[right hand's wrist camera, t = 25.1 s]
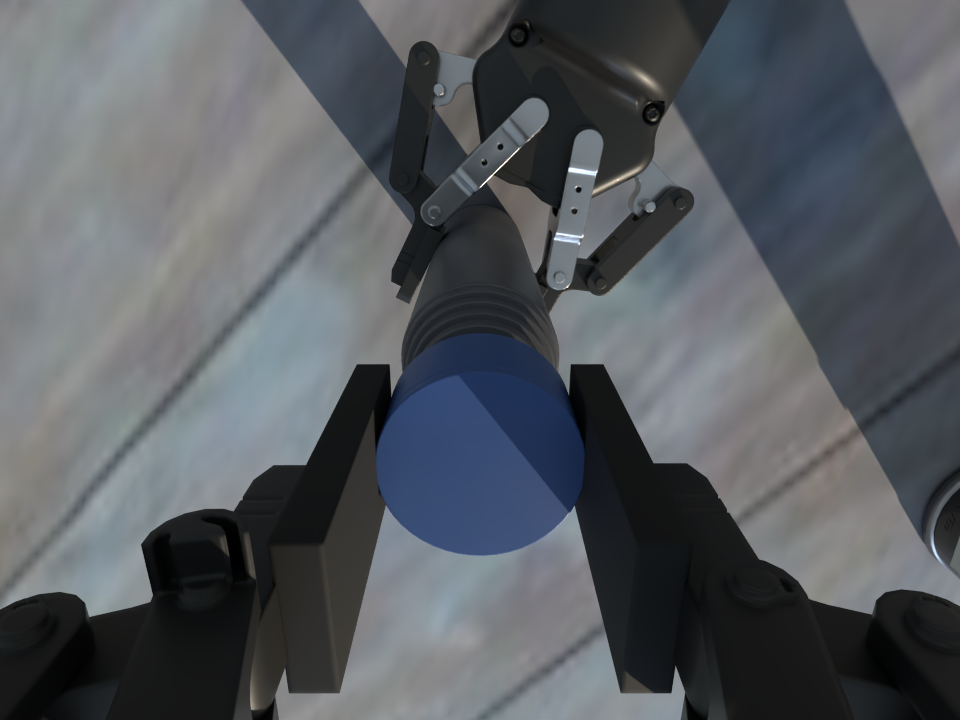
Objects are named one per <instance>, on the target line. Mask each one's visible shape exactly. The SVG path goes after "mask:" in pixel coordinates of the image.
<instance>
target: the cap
mask: <svg viewBox="0 0 960 720" xmlns="http://www.w3.org/2000/svg"><path fill="white" fill-rule="evenodd" d="M584 457H585V447H584V442H583V438H582V435H581V432H580V429H579V426H578V423H577V420H576V417H575V413H574V410H573V407H572V404H571V401H570V398H569V395H568V392H567V389H566V387H565V384H564V382H563V380H562V378H561V376H560V375H559V373H558V372H557V371H556V369H555V368H554V366H553V365H552V364H551V363H550V362H549V361H548V360H547V359H546V358H545V357H544V356H543V355H541V354H540V353H539V352H538V351H536V350H535V349H533V348H532V347H530V346H528V345H527V344H525V343H522V342H520V341H518V340H515V339H513V338H509V337H506V336H502V335H496V334H489V333H474V334H464V335H460V336H455V337H451V338H449V339H446V340H443V341H440V342H438V343H437V344H435V345H433V346H431V347H429V348H428V349H426V350H425V351H423V352H422V353H420V354H419V355H418V356H417V357H416V358H415V359H414V360H413V361H412V362H411V363H410V364H409V365H408V366H407V368H406V369H405V370H404V372H403V373H402V375H401V376H400V378H399V380H398V382H397V384H396V386H395V389H394V391H393V394H392V398H391V401H390V404H389V407H388V410H387V413H386V416H385V419H384V422H383V426H382V429H381V432H380V435H379V438H378V442H377V446H376V466H377V480H378V487H379V490H380V493H381V496H382V498H383V500H384V502H385V504H386V506H387V507H388V509H389V510H390V512H391V513H392V514H393V516H394V517H395V518H396V519H397V520H398V521H399V522H400V524H401V525H402V526H403V527H405V528H406V529H407V530H408V531H409V532H411V533H412V534H413V535H415V536H416V537H418V538H419V539H421V540H422V541H424V542H426V543H428V544H430V545H432V546H435V547H437V548H440V549H443V550H446V551H450V552H454V553H458V554H465V555H479V556H486V555H497V554H502V553H508V552H512V551H515V550H518V549H521V548H524V547H526V546H528V545H531V544H533V543H535V542H537V541H538V540H540V539H542V538H543V537H545V536H546V535H548V534H549V533H550V532H552V531H553V530H554V529H555V528H556V527H557V526H558V525H559V524H560V523H562V522H563V521H564V519H565V518H566V517H567V515H568V514H569V513H570V512H571V510H572V509H573V507H574V505H575V503H576V502H577V500H578V498H579V495H580V493H581V490H582V485H583V472H584Z"/></svg>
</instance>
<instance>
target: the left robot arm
mask: <svg viewBox="0 0 960 720" xmlns="http://www.w3.org/2000/svg"><path fill="white" fill-rule="evenodd" d="M730 1H731V0H519V1H518V4H517V6H516V8H515V10H514V12H513V14H512V16H511V18H510V20H509V23H508V25H507V27H506V29H505V31H504V33H503V35H502V36H501V38H500V39H499V40H498V41H497V43H496V44H495V45H493V46H492V47H491V48H490V49H488V50H487V51H485V52H484V53H483V54H482V55H481V56H480V57H479V58H478V60H475V59H471V58H467V57H463V56H459V55H455V54H451V53H447V52H443V51H439V50H437V49H436V48H435V46H434V45H433V44H431V43H429V42H426V41H420V42H418V43H416V44H414V45H413V47H412V48H411V50H410V52H409V58H408V64H407V70H406V76H405V82H404V88H403V95H402V101H401V107H400V113H399V119H398V125H397V132H396V138H395V144H394V150H393V156H392V162H391V169H390V175H389V181H390V184H391V186H392V188H393V189H394V190H396V191H397V192H399V193H401V194H402V196H403V197H404V198H405V199H406V200H407V201H408V202H409V203H410V204H411V205H412V207H413V209H414V212H415V221H414V224H413V226H412V228H411V231H410V233H409V235H408V237H407V239H406V241H405V243H404V245H403V247H402V250H401V252H400V254H399V256H398V258H397V260H396V262H395V264H394V267H393V269H392V278H391V282H393V283H395V284H398V285H400V286H401V288H400V290H399V292H398V294H397V296H396V298H398V299H400V300H402V301H404V302H406V303H408V304H409V303H410V302H411V300H412V298H413V296H414V294H415V292H416V290H417V287H418V285H419V283H420V281H421V279H422V277H423V275H424V273H425V271H426V269H427V267H428V265H429V263H430V261H431V259H432V257H433V254H434V252H435V251H436V249H437V247H438V245H439V243H440V241H441V239H442V237H443V235H444V232H445V229H446V226H444V223H445V221H446V220H447V219H448V218H449V217H450V216H451V215H452V214H453V213H454V212H455V211H456V210H457V209H458V208H459V207H460V206H461V205H462V204H463V203H464V202H465V201H466V200H467V199H468V198H469V197H470V196H471V195H473V194H474V193H475V192H476V191H477V190H479V189H480V188H481V187H482V186H483V185H484V184H485V183H486V182H487V181H488V180H489V179H490V178H491V177H492V176H493V175H495V176H497V177H499V178H501V179H502V180H504V181H506V182H508V183H510V184H515V185H519V186H523V187H527V188H529V189H530V190H531V191H532V192H533V193H534V194H535V195H536V196H537V197H538V198H539V199H540V200H541V201H543V202H545V203H547V204H549V205H551V207H550V213H549V219H548V231H547V237H546V242H545V248H544V253H543V259H542V264H541V266H540V268H539V269H538V271H537V273H534V274H535V277H536V280H537V283H538V286H539V288H540V291H541V294H542V297H543V300H544V302H545V305H546V308H547V311H548V314H549V313H550V311H551V309H552V308H553V306H554V304H555V302H556V301H557V299H558V297H559V296H560V295H561V294H562V293H564V292H565V291H568V290H582V291H590V292H591V293H592V294H594V295H597V296H602V295H605V294H607V293H609V292H610V291H611V290H612V289H613V288H614V287H615V286H616V285H617V284H618V283H619V282H620V281H621V280H622V279H623V278H624V277H625V276H626V275H627V274H628V273H629V272H630V271H631V270H632V269H633V268H634V267H635V266H636V265H637V264H638V263H639V262H640V261H641V260H642V259H643V258H644V257H645V256H646V255H647V254H648V253H649V252H650V251H651V250H652V249H653V248H654V247H655V246H656V245H657V244H658V243H659V242H660V241H661V240H662V239H663V238H664V237H665V236H666V235H667V234H668V233H669V232H670V231H671V230H672V229H673V228H674V227H675V226H676V225H677V224H678V223H679V222H680V221H681V220H682V219H683V218H684V217H685V216H686V215H687V214H688V213H689V212H690V211H691V210H692V208H693V205H694V197H693V195H692V193H691V192H690V191H688V190H686V189H684V188H682V187H680V186H677V185H676V184H675V183H674V182H673V181H672V180H671V179H670V178H669V177H668V176H667V175H666V174H665V173H664V172H663V171H662V170H661V169H660V168H659V167H658V166H657V165H656V164H655V163H654V162H653V161H652V158H653V155H654V144H655V136H656V132H657V129H658V126H659V124H660V122H661V120H662V118H663V116H664V115H665V113H666V111H667V110H668V108H669V106H670V105H671V103H672V101H673V99H674V98H675V96H676V94H677V92H678V91H679V89H680V87H681V86H682V84H683V82H684V80H685V79H686V77H687V75H688V73H689V72H690V70H691V68H692V67H693V65H694V63H695V61H696V60H697V58H698V56H699V54H700V53H701V51H702V49H703V48H704V46H705V44H706V42H707V41H708V39H709V37H710V35H711V34H712V32H713V30H714V28H715V27H716V25H717V23H718V22H719V20H720V18H721V16H722V15H723V13H724V11H725V9H726V8H727V6H728V4H729V3H730ZM465 84H472V85H473V92H474V99H475V106H476V113H477V120H478V127H479V134H480V141H481V143H480V144H479V145H478V146H477V147H476V148H475V149H474V150H473V151H472V152H471V153H470V154H469V155H468V156H467V157H466V158H465V159H464V160H463V161H462V162H461V163H460V164H459V165H458V167H457V168H456V169H455V170H454V171H453V172H452V173H451V174H450V175H449V176H448V177H447V178H446V179H445V180H444V181H443V182H442V183H441V184H440V185H439V186H438V187H436V185H435V184H434V183H433V182H432V181H431V180H430V179H429V178H428V177H427V176H426V174H425V173H424V172H423V169H424V164H425V158H426V153H427V147H428V142H429V136H430V131H431V125H432V120H433V114H434V108H435V105H436V106H446V105H448V104H449V103H451V101H452V100H453V98H454V96H455V93H456V91H457V90H458V88H459V87H461V86H462V85H465ZM483 160H485V161H483ZM633 177H634V178H635V181H636V187H635V190H634V192H633V194H632V195H631V196H630V198H629V202H628V205H629V209H630V211H631V212H632V213H631V214H630V215H629V216H628V217H627V218H626V219H625V220H624V221H623V222H622V223H621V224H620V225H619V226H618V227H617V228H616V229H615V230H614V231H613V232H612V233H611V235H610V236H609V237H608V238H607V239H606V240H605V241H604V242H603V243H602V244H601V245H600V246H599V247H598V248H597V249H596V250H595V251H594V252H593V253H592V254H591V255H590V256H589V257H588V258H587V259H581V258H577V255H578V250H579V246H580V242H581V240H582V239H583V236H584V232H585V227H586V222H587V217H588V212H589V207H590V202H591V198H593V197H595V196H597V195H599V194H601V193H603V192H605V191H607V190H609V189H611V188H613V187H615V186H617V185H619V184H621V183H623V182H625V181H627V180H629V179H631V178H633ZM923 538H924V541H925V544H926V546H927V548H928V550H929V552H930V553H931V554H932V555H933V557H935V558H936V559H937V560H938V561H939V562H940V563H941V564H942V565H943V566H944V567H945V568H946V569H947V570H949V571H950V572H952V573H954V574H955V575H956V576H957V577H958V578H959V579H960V471H958V472H957V473H956V474H954V475H953V476H952V477H951V478H949V479H948V480H947V481H946V482H945V483H944V484H943V485H942V486H941V487H940V489H939V490H938V491H937V492H936V494H935V495H934V496H933V498H932V500H931V501H930V503H929V505H928V507H927V510H926V512H925V516H924V520H923Z"/></svg>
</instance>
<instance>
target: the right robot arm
mask: <svg viewBox="0 0 960 720" xmlns="http://www.w3.org/2000/svg"><path fill="white" fill-rule="evenodd" d="M569 398H570V401H571V404H572V407H573V410H574V413H575V417H576V420H577V423H578V426H579V429H580V432H581V435H582V438H583V442H584V447H585V457H584V472H583V485H582V490H581V493H580V495H579V498H578V500H577V502H576V503H575V509H576V513H577V517H578V521H579V525H580V529H581V533H582V537H583V541H584V545H585V549H586V553H587V557H588V561H589V566H590V570H591V574H592V578H593V582H594V586H595V590H596V594H597V598H598V602H599V606H600V610H601V614H602V618H603V623H604V627H605V631H606V635H607V639H608V643H609V647H610V651H611V655H612V659H613V663H614V667H615V671H616V675H617V679H618V684H619V688H620V692H621V693H671V692H672V685H673V679H674V672H675V665H676V667H677V670H678V673H679V676H680V679H681V681H682V684H683V687H684V690H685V698H684V704H683V710H682V716H681V720H960V606H958V605H956V604H954V603H952V602H950V601H948V600H946V599H944V598H941V597H938V596H934V595H931V594H928V593H925V592H920V591H911V590H902V589H901V590H896V591H890V592H885V593H884V594H883V595H882V596H881V597H880V598H878V599H877V600H876V603H875V607H874V610H873V613H872V615H871V614H866V613H862V612H857V611H853V610H848V609H844V608H840V607H835V606H831V605H827V604H823V603H820V602H816V601H813V600H810V599H808V596H807V594H806V593H805V591H804V590H803V588H802V587H801V585H800V584H799V582H798V581H797V580H796V579H794V578H793V577H792V576H791V575H789V574H788V573H787V572H786V571H784V570H783V569H781V568H779V567H777V566H774V565H772V564H770V563H768V562H766V561H763V560H759V559H758V557H757V556H756V554H755V553H754V551H753V549H752V548H751V546H750V545H749V543H748V542H747V540H746V538H745V537H744V535H743V534H742V532H741V531H740V529H739V527H738V526H737V524H736V523H735V521H734V520H733V518H732V516H731V515H730V513H727V509H726V507H725V505H724V504H723V502H722V501H721V499H720V498H718V494H717V493H716V491H715V490H714V488H713V487H712V485H711V483H710V482H709V480H708V479H707V478H706V477H705V476H704V475H702V474H701V473H699V472H698V471H697V470H695V469H694V468H693V467H691V466H690V465H688V464H687V463H653V461H652V460H651V458H650V456H649V454H648V452H647V450H646V448H645V446H644V444H643V442H642V440H641V438H640V436H639V434H638V432H637V430H636V428H635V426H634V424H633V422H632V420H631V418H630V416H629V414H628V412H627V410H626V408H625V406H624V404H623V402H622V400H621V398H620V396H619V394H618V392H617V390H616V388H615V386H614V384H613V383H612V381H611V379H610V377H609V375H608V373H607V371H606V369H605V367H604V365H603V364H571V371H570V389H569ZM390 401H391V382H390V364H357V366H356V367H355V369H354V371H353V373H352V375H351V377H350V379H349V381H348V383H347V385H346V387H345V389H344V391H343V393H342V395H341V397H340V399H339V401H338V403H337V405H336V407H335V409H334V411H333V413H332V415H331V417H330V419H329V421H328V423H327V425H326V427H325V429H324V431H323V433H322V435H321V437H320V439H319V441H318V443H317V445H316V446H315V448H314V450H313V452H312V454H311V456H310V458H309V460H308V462H307V464H306V465H273V466H272V467H271V468H269V469H268V470H267V471H265V472H264V473H263V474H261V475H260V476H258V477H257V478H256V479H254V480H253V482H252V483H251V485H250V486H249V488H248V490H247V491H246V493H245V494H244V496H243V500H241V501H240V502H239V504H238V505H237V507H236V509H235V510H234V512H233V511H229V510H226V509H203V510H199V511H194V512H190V513H185V514H183V515H180V516H178V517H176V518H173V519H171V520H168V521H166V522H165V523H163V524H162V525H160V526H159V527H157V528H156V529H155V530H153V531H152V532H150V534H149V535H148V536H147V538H146V539H145V540H144V541H143V543H142V544H141V546H142V551H143V555H144V559H145V563H146V567H147V572H148V576H149V580H150V584H151V588H152V593H153V597H152V600H151V602H149V603H146V604H143V605H139V606H136V607H132V608H128V609H123V610H119V611H114V612H110V613H105V614H101V615H97V616H92V617H89V615H88V612H87V608H86V605H85V603H84V602H83V601H82V600H81V599H80V598H79V597H78V596H76V595H73V594H68V593H63V592H55V593H46V594H38V595H35V596H32V597H29V598H25V599H22V600H19V601H16V602H14V603H12V604H10V605H8V606H6V607H4V608H2V609H1V610H0V720H279V717H278V711H277V704H276V698H275V694H276V691H277V688H278V686H279V683H280V680H281V677H282V674H283V672H284V669H286V676H287V683H288V689H289V693H340V689H341V685H342V681H343V677H344V673H345V669H346V665H347V661H348V657H349V653H350V648H351V644H352V640H353V636H354V632H355V628H356V624H357V620H358V616H359V612H360V608H361V604H362V600H363V596H364V591H365V587H366V583H367V579H368V575H369V571H370V567H371V563H372V559H373V555H374V551H375V547H376V543H377V539H378V534H379V530H380V526H381V522H382V518H383V514H384V510H385V506H386V504H385V502H384V500H383V498H382V496H381V493H380V490H379V487H378V480H377V466H376V446H377V442H378V438H379V435H380V432H381V429H382V426H383V422H384V419H385V416H386V413H387V410H388V407H389V404H390Z"/></svg>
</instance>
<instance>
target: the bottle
mask: <svg viewBox="0 0 960 720" xmlns="http://www.w3.org/2000/svg"><path fill="white" fill-rule="evenodd" d="M444 226H446V229H445V232H444V235H443V237H442V239H441V241H440V243H439V245H438V247H437V249H436V251H435V252H434V254H433V257H432V259H431V262H430V265H429V267H428V270H427V273H426V276H425V279H424V282H423V284H422V287H421V290H420V293H419V296H418V298H417V301H416V304H415V307H414V310H413V313H412V315H411V318H410V321H409V324H408V327H407V329H406V332H405V336H404V340H403V344H402V353H401V355H402V371H403V372H404V370H405V369H406V368H407V366H408V365H409V364H410V363H411V362H412V361H413V360H414V359H415V358H416V357H417V356H418V355H419V354H420V353H422V352H423V351H425V350H426V349H428V348H429V347H431V346H433V345H435V344H437V343H438V342H440V341H443V340H446V339H449V338H451V337H455V336H460V335H464V334H474V333H489V334H496V335H502V336H506V337H509V338H513V339H515V340H518V341H520V342H522V343H525V344H527V345H528V346H530V347H532V348H533V349H535V350H536V351H538V352H539V353H540V354H541V355H543V356H544V357H545V358H546V359H547V360H548V361H549V362H550V363H551V364H552V365H553V366H554V368H555V369H556V371H557V372H558V366H559V345H558V341H557V336H556V333H555V331H554V328H553V325H552V322H551V319H550V316H549V314H548V311H547V308H546V305H545V302H544V300H543V297H542V294H541V291H540V288H539V286H538V283H537V280H536V277H535V274H534V272H533V269H532V266H531V263H530V260H529V258H528V255H527V252H526V249H525V246H524V243H523V241H522V238H521V235H520V232H519V230H518V228H517V226H516V224H515V223H514V221H513V220H512V219H511V218H510V217H509V216H508V215H507V214H506V213H505V212H503V211H502V210H500V209H498V208H496V207H493V206H489V205H472V206H468V207H465V208H463V209H461V210H459V211H457V212H456V213H455V214H453V215H452V216H451V217H450V218H449V219H448V221H447V222H446V223H445V225H444Z"/></svg>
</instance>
